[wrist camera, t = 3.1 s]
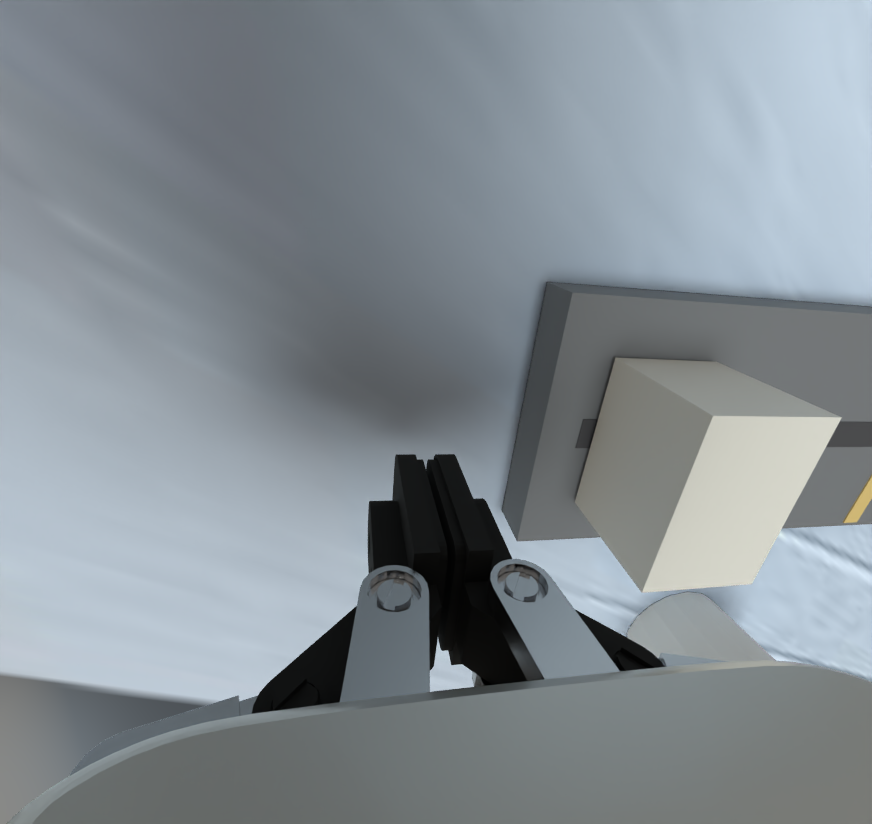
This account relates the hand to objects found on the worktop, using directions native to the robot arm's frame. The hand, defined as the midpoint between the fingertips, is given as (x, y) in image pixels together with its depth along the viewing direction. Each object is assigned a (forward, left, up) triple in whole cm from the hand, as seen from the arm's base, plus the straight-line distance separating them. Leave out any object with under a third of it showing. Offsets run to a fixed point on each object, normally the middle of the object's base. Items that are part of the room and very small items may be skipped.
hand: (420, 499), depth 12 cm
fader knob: (-1, +9, -3) cm, 9 cm away
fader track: (-1, +19, -5) cm, 19 cm away
